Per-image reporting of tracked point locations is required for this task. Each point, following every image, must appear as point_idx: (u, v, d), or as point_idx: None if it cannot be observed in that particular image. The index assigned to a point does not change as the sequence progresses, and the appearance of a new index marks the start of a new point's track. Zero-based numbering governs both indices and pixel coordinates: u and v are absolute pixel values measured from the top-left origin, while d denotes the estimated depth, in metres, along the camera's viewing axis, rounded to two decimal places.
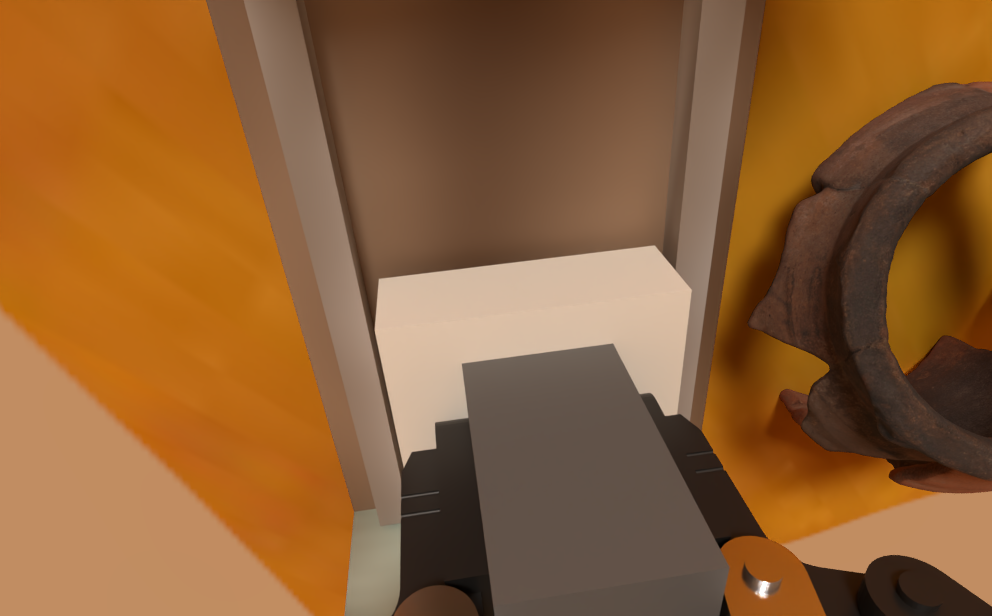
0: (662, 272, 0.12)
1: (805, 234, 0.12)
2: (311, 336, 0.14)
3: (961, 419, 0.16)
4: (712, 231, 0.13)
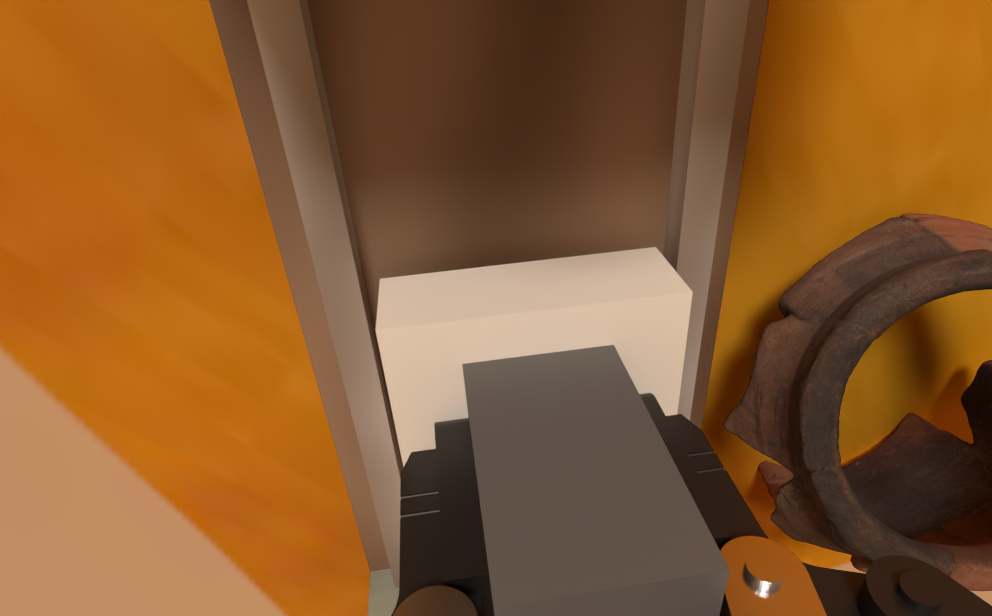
0: (664, 274, 0.12)
1: (772, 356, 0.14)
2: (336, 425, 0.15)
3: (920, 500, 0.17)
4: (698, 339, 0.14)
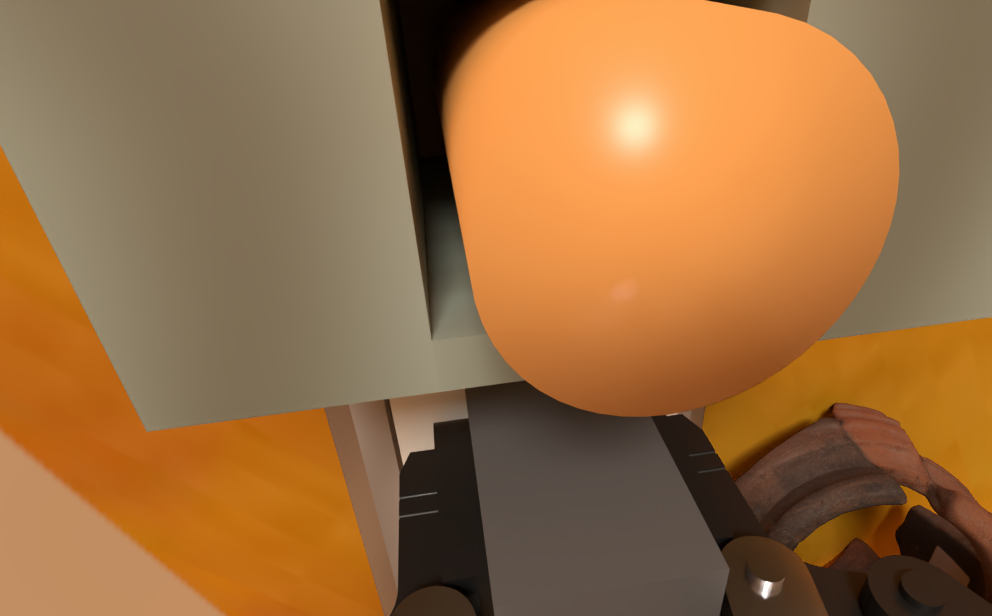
0: None
1: None
2: (378, 573, 0.18)
3: None
4: None
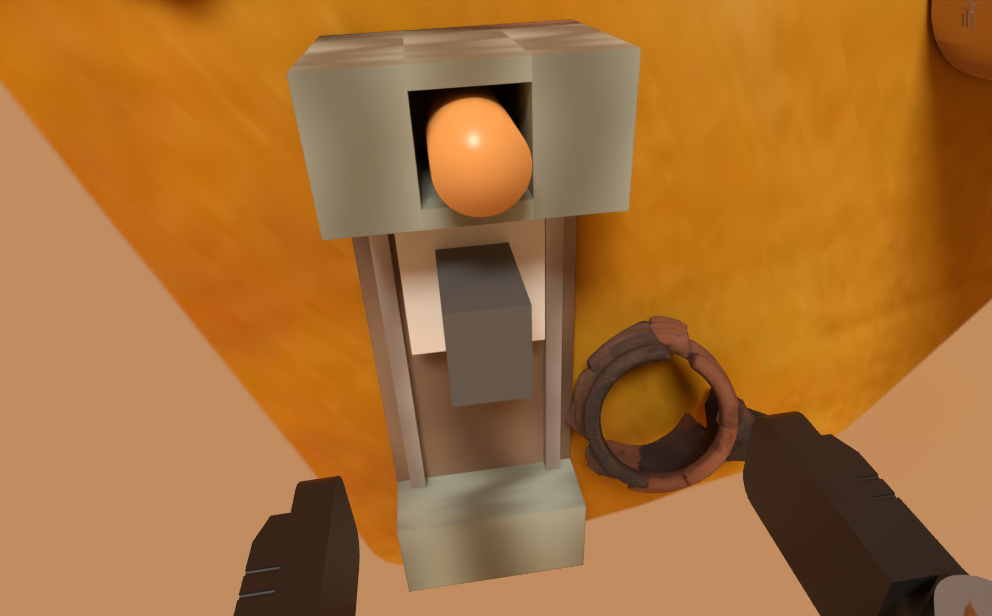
0: None
1: (581, 387, 0.30)
2: (385, 400, 0.31)
3: (675, 458, 0.34)
4: (560, 359, 0.30)
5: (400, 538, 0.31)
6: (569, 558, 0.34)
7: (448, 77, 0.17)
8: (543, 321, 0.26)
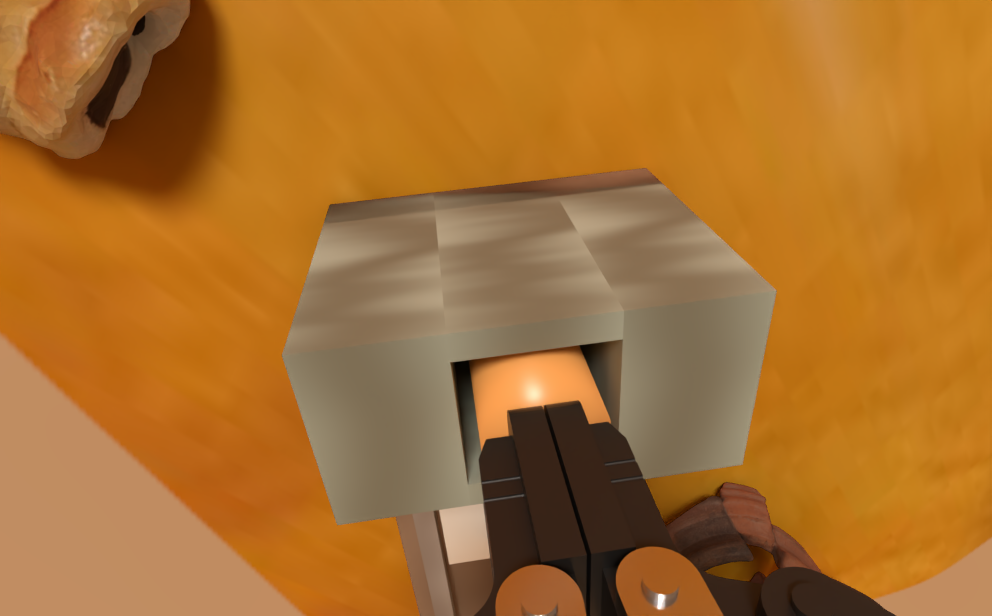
0: None
1: None
2: (416, 583, 0.26)
3: None
4: None
5: None
6: None
7: (507, 343, 0.12)
8: None
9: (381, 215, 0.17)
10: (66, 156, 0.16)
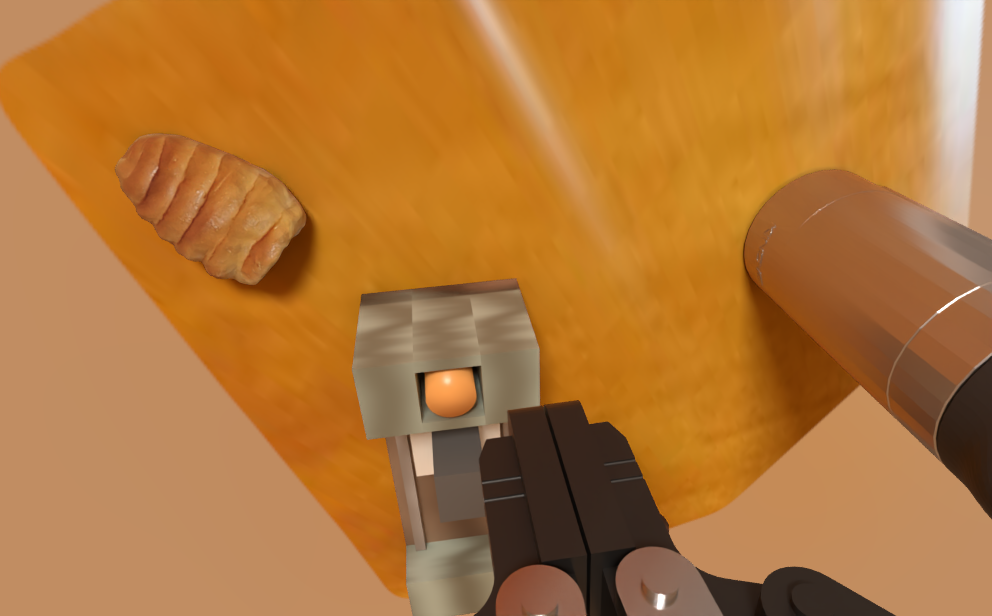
0: None
1: None
2: (399, 495, 0.46)
3: None
4: None
5: (408, 587, 0.46)
6: None
7: (436, 366, 0.32)
8: None
9: (386, 302, 0.37)
10: None
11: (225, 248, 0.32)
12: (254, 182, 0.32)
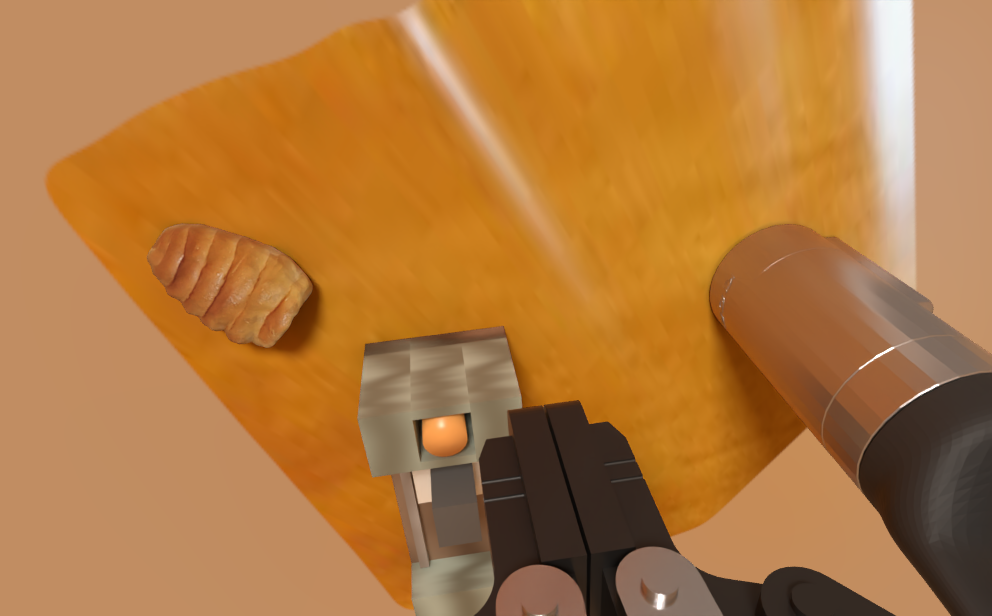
0: None
1: None
2: (403, 518, 0.50)
3: None
4: None
5: (413, 602, 0.51)
6: None
7: (431, 414, 0.36)
8: None
9: (387, 352, 0.42)
10: None
11: (243, 320, 0.37)
12: (266, 261, 0.36)
